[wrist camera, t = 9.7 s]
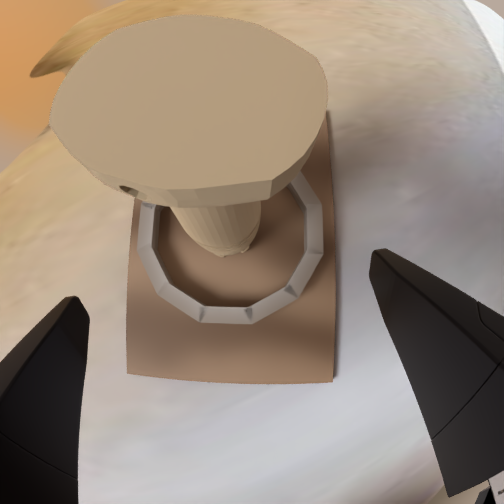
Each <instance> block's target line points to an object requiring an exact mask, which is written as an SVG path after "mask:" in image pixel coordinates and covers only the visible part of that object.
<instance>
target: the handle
mask: <svg viewBox="0 0 504 504" xmlns="http://www.w3.org/2000/svg"><path fill="white" fill-rule="evenodd" d="M327 101H328V86H327V80H326V77H325V74H324V71H323V68H322V67H321V65H320V63H319V61H318V59H317V58H316V57H315V56H313V55H312V54H310V53H309V52H307V51H306V50H304V49H303V48H301V47H299V46H298V45H296V44H295V43H293V42H291V41H290V40H288V39H286V38H284V37H283V36H281V35H279V34H277V33H275V32H273V31H272V30H269V29H267V28H265V27H262V26H260V25H257V24H255V23H251V22H246V21H242V20H237V19H231V18H223V17H215V16H206V15H176V16H168V17H162V18H157V19H153V20H149V21H144V22H140V23H137V24H133V25H130V26H126V27H123V28H120V29H116V30H115V31H113V32H112V33H110V34H108V35H107V36H105V37H104V38H102V39H101V40H100V41H98V42H97V43H96V44H94V45H93V46H92V47H91V48H90V49H89V50H88V51H87V52H86V53H85V54H84V55H83V56H82V57H81V58H80V59H79V60H78V61H77V62H76V64H75V65H74V66H73V67H72V69H71V70H70V71H69V73H68V74H67V76H66V77H65V79H64V80H63V82H62V84H61V85H60V87H59V90H58V91H57V94H56V96H55V98H54V100H53V104H52V107H51V112H50V119H49V126H50V127H51V129H52V130H53V131H54V133H55V134H56V136H57V137H58V139H59V140H60V141H61V143H62V144H63V145H64V147H65V148H66V149H67V150H68V152H69V153H70V154H71V155H72V156H73V157H74V158H75V159H76V160H77V161H79V162H80V163H81V164H82V165H83V166H84V167H85V168H86V169H87V170H88V171H89V172H90V173H91V174H92V175H93V176H95V177H96V178H97V179H98V180H100V181H101V182H102V183H104V184H105V185H107V186H109V187H111V188H113V189H115V190H117V191H120V192H122V193H124V194H127V195H130V196H132V197H135V198H137V199H140V200H142V201H145V202H147V203H152V204H157V205H162V206H168V207H170V208H171V209H172V211H173V213H174V214H175V216H176V217H177V219H178V221H179V222H180V224H181V225H182V227H183V229H184V230H185V231H186V233H187V234H188V235H189V236H190V237H191V238H192V239H193V240H194V241H195V242H196V243H197V244H199V245H200V246H201V247H203V248H205V249H206V250H208V251H210V252H212V253H214V254H215V255H217V256H219V257H226V256H227V255H234V254H237V253H239V252H241V253H244V252H245V251H247V250H248V248H249V245H250V244H251V242H252V241H253V239H254V238H255V236H256V233H257V231H258V228H259V224H260V217H261V200H268V199H269V198H271V197H272V196H273V195H275V194H276V193H278V192H279V191H281V190H282V189H283V188H284V187H285V186H286V185H288V184H289V183H290V182H291V181H292V180H293V179H294V178H295V177H296V176H297V174H298V173H299V171H300V170H301V168H302V167H303V165H304V164H305V162H306V161H307V159H308V158H309V156H310V153H311V151H312V148H313V146H314V144H315V141H316V139H317V136H318V134H319V131H320V129H321V126H322V123H323V120H324V117H325V112H326V107H327Z"/></svg>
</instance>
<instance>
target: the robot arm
mask: <svg viewBox="0 0 504 504" xmlns="http://www.w3.org/2000/svg"><path fill="white" fill-rule="evenodd" d="M369 278H370V281H371V284H372V287H373V290H374V293H375V296H376V299H377V302H378V305H379V308H380V311H381V314H382V317H383V319H384V322H385V325H386V327H387V329H388V331H389V334H390V336H391V338H392V341H393V343H394V345H395V347H396V350H397V352H398V354H399V357H400V359H401V362H402V364H403V366H404V369H405V371H406V374H407V376H408V379H409V381H410V384H411V386H412V389H413V391H414V394H415V397H416V399H417V402H418V405H419V407H420V410H421V413H422V415H423V418H424V421H425V424H426V427H427V430H428V432H429V435H430V438H431V442H432V445H433V448H434V451H435V454H436V457H437V460H438V464H439V467H440V470H441V474H442V477H443V481H444V484H445V488H446V491H447V495H448V497H452V496H454V495H456V494H459V493H461V492H463V491H465V490H467V489H470V488H472V487H474V486H476V485H478V484H480V483H482V482H484V481H486V480H488V482H489V485H490V486H489V487H488V488H486V489H484V490H483V491H481V492H480V493H479V495H478V498H477V500H476V502H475V504H504V316H502V315H500V314H498V313H497V312H495V311H493V310H492V309H490V308H488V307H487V306H485V305H484V304H482V303H480V302H479V301H478V302H477V301H476V300H475V299H474V298H472V297H471V296H469V295H467V294H466V293H464V292H462V291H461V290H459V289H457V288H456V287H454V286H452V285H450V284H449V283H447V282H445V281H444V280H442V279H440V278H438V277H437V276H435V275H433V274H431V273H430V272H428V271H426V270H424V269H423V268H421V267H419V266H417V265H415V264H414V263H412V262H410V261H408V260H406V259H405V258H403V257H401V256H399V255H397V254H395V253H394V252H392V251H390V250H388V249H378V250H374V251H373V252H372V256H371V263H370V270H369ZM89 324H90V318H89V315H88V313H87V311H86V309H85V308H84V306H83V304H82V303H81V301H80V299H79V298H78V297H77V296H69V297H65V298H64V299H63V300H62V301H61V302H60V303H59V304H58V305H56V306H55V307H54V308H53V309H52V310H51V311H50V312H49V313H48V314H47V315H46V316H45V317H44V318H43V319H42V320H41V321H40V322H39V323H38V324H37V325H36V326H35V327H34V328H33V329H32V330H31V331H30V332H29V333H28V334H27V335H26V336H25V337H24V338H23V339H22V340H21V341H20V342H19V343H18V344H17V345H16V346H15V347H14V348H13V349H12V350H11V351H10V352H9V353H8V355H7V356H6V357H5V358H4V359H3V360H2V361H1V362H0V504H78V480H77V479H78V448H79V430H80V417H81V406H82V396H83V387H84V380H85V372H86V364H87V351H88V336H89Z"/></svg>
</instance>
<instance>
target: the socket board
mask: <svg viewBox="0 0 504 504" xmlns="http://www.w3.org/2000/svg"><path fill="white" fill-rule="evenodd" d="M335 299H336V276H335V231H334V208H333V190H332V175H331V162H330V150H329V139H328V129H327V120H326V112H325V117H324V120H323V123H322V126H321V129H320V131H319V134H318V136H317V139H316V141H315V144H314V146H313V148H312V151H311V153H310V156H309V158H308V159H307V161H306V162H305V164H304V165H303V167H302V168H301V170H300V171H299V173H298V174H297V176H296V177H295V178H294V179H293V180H292V181H291V182H290V183H289V184H288V185H286V186H285V187H284V188H283V189H282V190H281V191H279V192H278V193H276V194H275V195H273V196H272V197H271V198H269V199H268V200H261V217H260V224H259V228H258V231H257V233H256V236H255V238H254V239H253V241H252V242H251V244H250V245H249V248H248V250H247V251H245V252H244V253H241V252H239V253H237V254H234V255H227V256H226V257H219V256H217V255H215V254H214V253H212V252H210V251H208V250H206V249H205V248H203V247H201V246H200V245H199V244H197V243H196V242H195V241H194V240H193V239H192V238H191V237H190V236H189V235H188V234H187V233H186V231H185V230H184V229H183V227H182V225H181V224H180V222H179V221H178V219H177V217H176V216H175V214H174V213H173V211H172V209H171V208H170V207H168V206H162V205H157V204H152V203H147V202H145V201H142V200H140V199H137V198H135V200H134V209H133V218H132V227H131V238H130V250H129V265H128V283H127V314H126V350H127V374H134V375H141V376H149V377H158V378H167V379H177V380H188V381H201V382H216V383H239V384H305V383H328V382H333V367H334V345H335Z"/></svg>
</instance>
